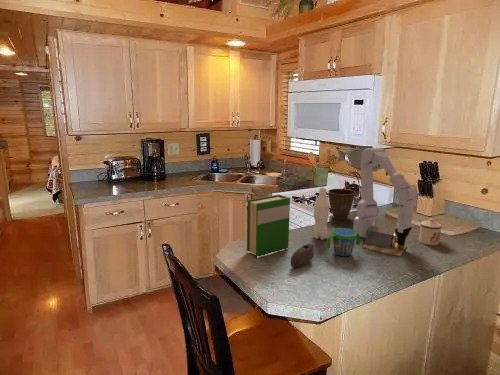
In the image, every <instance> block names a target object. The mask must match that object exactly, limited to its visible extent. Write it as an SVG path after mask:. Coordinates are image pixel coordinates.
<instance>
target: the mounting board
mask: <svg viewBox="0 0 500 375" xmlns="http://www.w3.org/2000/svg"><path fill="white" fill-rule="evenodd" d="M407 247H408V245H407V244H406V248H407ZM362 248H363V249H367V250H371V251H375V252H379V253H380V252H381V253H384V254H389V255H393V256H396V257H397V256H398V257H400V256H402V254H403V253H404V252H405V250H406V248H405V249H399V248H397V244H396V247H395V248H394V247H392V248H391V249H390V250H389V249H385V248H380V247H376V246H371V245H367V244H364V245H363V246H362Z"/></svg>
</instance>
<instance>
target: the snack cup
mask: <svg viewBox="0 0 500 375" xmlns="http://www.w3.org/2000/svg"><path fill="white" fill-rule="evenodd" d="M328 235H329V236H327V239H326V240H327V241H326V248H328V249H329V250H330V249H331V243H332V242H333V243H332V244H333V245H332V246H333V253H334V254H335V255H336V256H340V257H350V256H352V254H353V250H354V246H355V244H356V245H357V246H360V245H361V237H360V236H359V234H358V233H357V232H355V231H354V230H353V229H352V228H351V229H350V228H345V227H344V228H343V227H336V228H334V229H332V230H331V233H330V234H328ZM331 239H332V240H331ZM331 241H332V242H331Z"/></svg>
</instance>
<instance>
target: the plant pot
mask: <svg viewBox="0 0 500 375" xmlns="http://www.w3.org/2000/svg"><path fill="white" fill-rule="evenodd" d="M327 192H328V202H329V208H330V211H331V214H332V218H333V219H335V220H338V221H339V220H340V221H344V220H347V219H348V216H349V215H350V213H351V210H352V206H353V203H354V199H355V195H356V192H355V191H354V190H352V189H346V188H332V189H329V190H328V191H327Z"/></svg>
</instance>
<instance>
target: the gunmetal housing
mask: <svg viewBox="0 0 500 375" xmlns="http://www.w3.org/2000/svg"><path fill="white" fill-rule="evenodd" d="M394 233H396V232H395V229H390V228H386V227H385V228H384V227H378V226H375V225H374V226H370V227H369V228H368V229H367V231H366V238H365V244H367V245H371V246H376V247H380V248H385V249H389V250H390V249H391V248H392V244H391V241H392V236H393V235H394ZM365 244H364V245H365Z"/></svg>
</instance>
